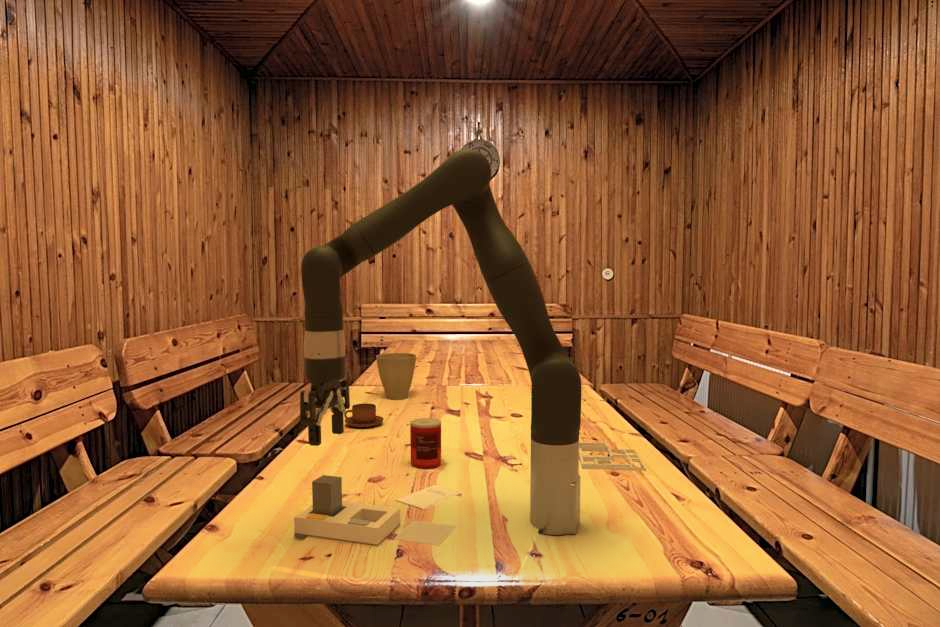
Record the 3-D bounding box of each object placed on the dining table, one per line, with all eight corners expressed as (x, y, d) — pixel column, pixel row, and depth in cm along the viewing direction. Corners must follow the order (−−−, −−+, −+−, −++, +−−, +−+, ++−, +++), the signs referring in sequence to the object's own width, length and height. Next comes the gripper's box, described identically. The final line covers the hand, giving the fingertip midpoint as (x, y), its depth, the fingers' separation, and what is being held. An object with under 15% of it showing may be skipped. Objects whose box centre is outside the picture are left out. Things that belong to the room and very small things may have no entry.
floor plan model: (541, 448, 184) (542, 441, 183) (634, 450, 181) (634, 443, 181) (543, 470, 165) (543, 462, 165) (646, 472, 163) (646, 464, 163)
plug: (342, 522, 128) (341, 477, 127) (331, 530, 124) (330, 483, 124) (324, 520, 130) (323, 475, 129) (313, 527, 126) (312, 481, 125)
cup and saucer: (358, 432, 200) (357, 412, 199) (337, 424, 209) (337, 405, 208) (391, 425, 208) (390, 406, 207) (369, 418, 217) (369, 400, 216)
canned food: (427, 457, 174) (426, 416, 173) (447, 464, 168) (447, 421, 167) (404, 464, 168) (403, 421, 167) (424, 471, 163) (424, 427, 162)
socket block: (400, 528, 128) (400, 506, 128) (377, 550, 118) (377, 526, 118) (322, 518, 133) (321, 497, 133) (294, 538, 124) (294, 515, 123)
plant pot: (382, 393, 257) (382, 352, 256) (420, 394, 255) (420, 353, 254) (371, 401, 242) (371, 358, 241) (411, 402, 240) (411, 358, 239)
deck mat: (456, 530, 127) (456, 526, 127) (439, 549, 119) (439, 545, 119) (412, 524, 130) (412, 520, 130) (393, 543, 121) (393, 538, 121)
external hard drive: (394, 506, 141) (433, 490, 150) (422, 516, 136) (461, 499, 145) (394, 499, 141) (433, 483, 150) (422, 508, 136) (461, 491, 145)
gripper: (323, 360, 116) (325, 451, 118) (360, 349, 130) (362, 431, 131) (285, 358, 119) (288, 447, 120) (326, 348, 132) (328, 428, 134)
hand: (326, 439), depth 126 cm, fingers open, 8 cm apart
